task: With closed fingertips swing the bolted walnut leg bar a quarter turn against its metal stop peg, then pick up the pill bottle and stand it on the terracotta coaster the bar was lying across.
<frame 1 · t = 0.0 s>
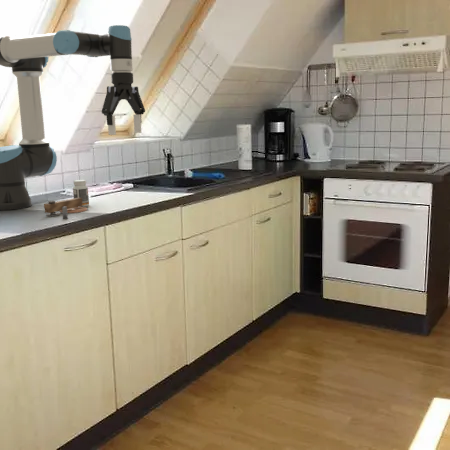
hand: (125, 133, 209), 28 cm above the countertop, fingers open, 13 cm apart
stop peg: (65, 218, 203), on the countertop
coaster: (73, 210, 218), on the countertop
pill bottle: (81, 206, 228), on the countertop
pivot pin: (52, 215, 210), on the countertop
leg bar: (63, 204, 214), point 3 cm above the countertop, hinge at 0.0°
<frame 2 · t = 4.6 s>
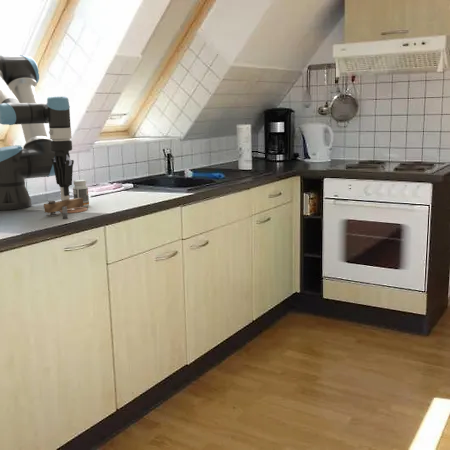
hand: (65, 204, 217), 3 cm above the countertop, fingers closed
leg bar: (64, 204, 214), point 3 cm above the countertop, hinge at 2.4°, touching gripper
everything else where it was.
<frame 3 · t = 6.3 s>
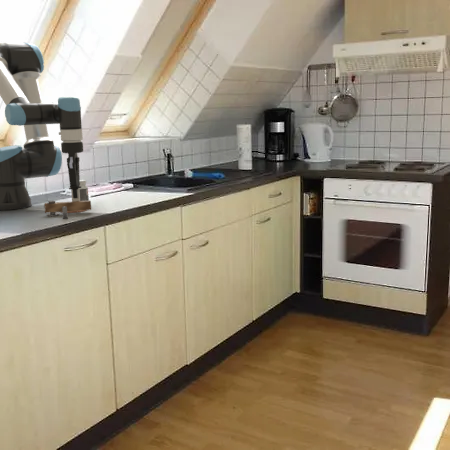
hand: (76, 206, 213), 2 cm above the countertop, fingers closed
leg bar: (68, 205, 211), point 3 cm above the countertop, hinge at 43.8°, touching gripper
everything else where it was.
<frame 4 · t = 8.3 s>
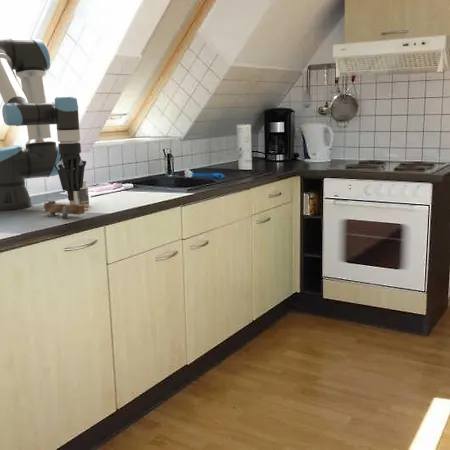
hand: (74, 209, 207), 2 cm above the countertop, fingers closed
leg bar: (63, 207, 207), point 3 cm above the countertop, hinge at 85.0°, touching gripper
everything else where it was.
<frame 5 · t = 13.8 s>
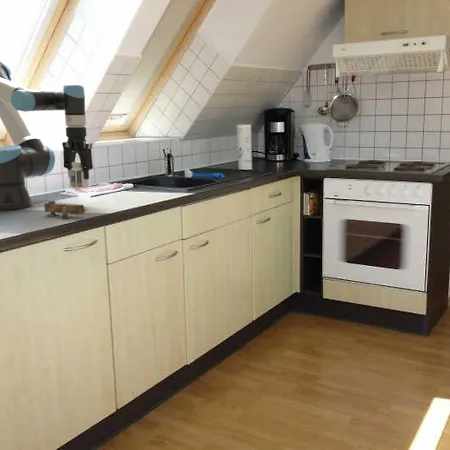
hand: (79, 186, 227), 7 cm above the countertop, fingers closed on pill bottle, 6 cm apart
pill bottle: (79, 188, 227), point 7 cm above the countertop, touching gripper
leg bar: (63, 207, 207), point 3 cm above the countertop, hinge at 85.0°
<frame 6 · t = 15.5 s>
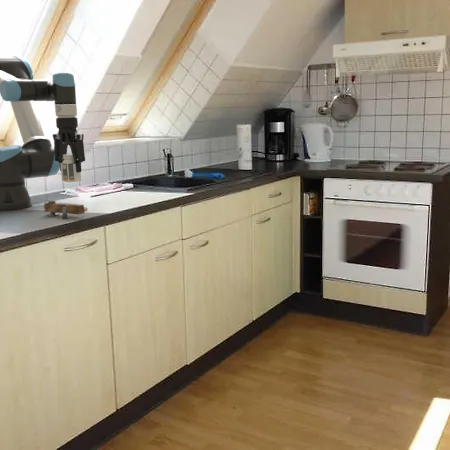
hand: (71, 180, 216), 11 cm above the countertop, fingers closed on pill bottle, 6 cm apart
pill bottle: (71, 181, 216), point 11 cm above the countertop, touching gripper
everything else where it was.
when the fingers open (1 cm above the countertop, at t = 17.4 s): pill bottle stays where it is, resting on coaster.
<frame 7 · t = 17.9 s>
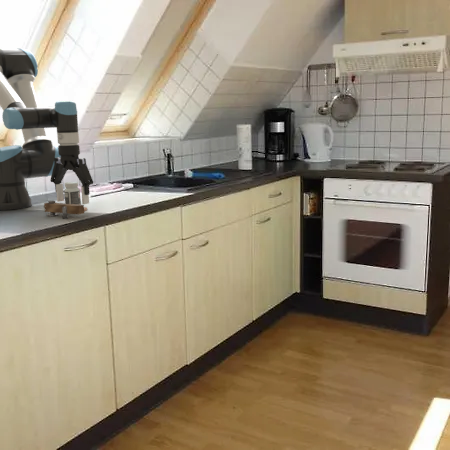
hand: (73, 202, 218), 3 cm above the countertop, fingers open, 12 cm apart
pill bottle: (73, 209, 218), resting on coaster
everything else where it was.
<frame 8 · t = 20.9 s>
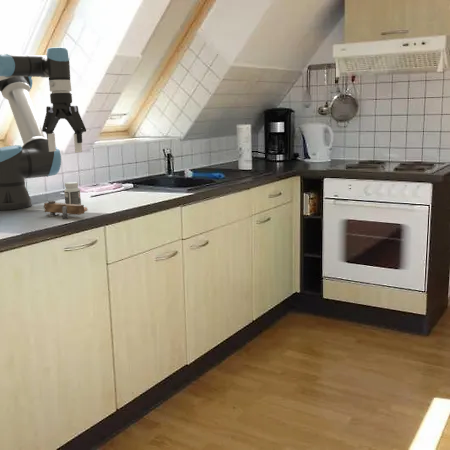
hand: (65, 151, 215), 22 cm above the countertop, fingers open, 13 cm apart
nothing on the countertop moved.
at the end: leg bar at +85° (first picture: +0°); pill bottle 0.1 cm from the coaster (horizontally); pill bottle tilted 0° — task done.
